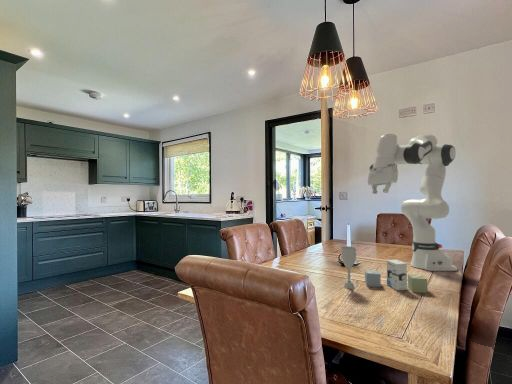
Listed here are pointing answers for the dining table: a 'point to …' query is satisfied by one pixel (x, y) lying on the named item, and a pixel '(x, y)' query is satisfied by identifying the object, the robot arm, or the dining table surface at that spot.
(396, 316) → the dining table surface
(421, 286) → the olive block
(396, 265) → the ink box
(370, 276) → the slate block
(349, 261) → the chalice
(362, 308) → the dining table surface
